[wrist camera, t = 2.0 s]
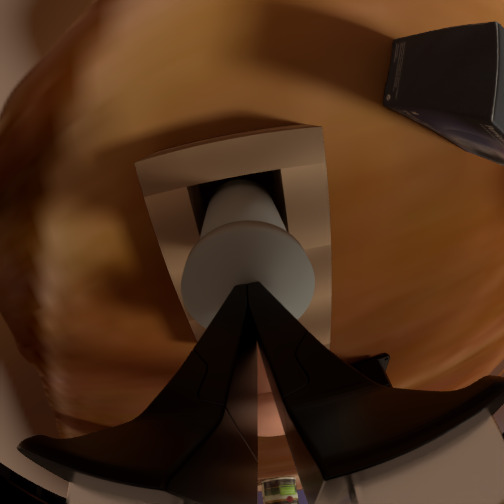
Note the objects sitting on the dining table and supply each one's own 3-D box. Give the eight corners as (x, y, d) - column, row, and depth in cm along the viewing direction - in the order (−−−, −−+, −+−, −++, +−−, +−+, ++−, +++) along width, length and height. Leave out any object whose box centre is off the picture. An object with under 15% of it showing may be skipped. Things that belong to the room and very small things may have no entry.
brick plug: (295, 341, 21) (316, 428, 14) (239, 351, 21) (244, 440, 14) (291, 298, 19) (318, 395, 12) (226, 310, 19) (227, 410, 12)
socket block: (318, 326, 25) (329, 357, 21) (215, 344, 25) (214, 377, 21) (303, 123, 16) (321, 126, 13) (154, 152, 16) (134, 162, 13)
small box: (378, 109, 16) (491, 125, 7) (391, 37, 13) (493, 12, 4) (466, 155, 17) (553, 195, 8) (476, 94, 14) (565, 113, 5)
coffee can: (271, 476, 54) (276, 518, 42) (301, 475, 57) (308, 514, 44) (254, 483, 58) (258, 521, 46) (283, 483, 61) (288, 518, 49)
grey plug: (283, 238, 17) (316, 327, 10) (212, 251, 17) (202, 346, 10) (273, 167, 15) (311, 218, 8) (194, 182, 15) (162, 245, 8)
